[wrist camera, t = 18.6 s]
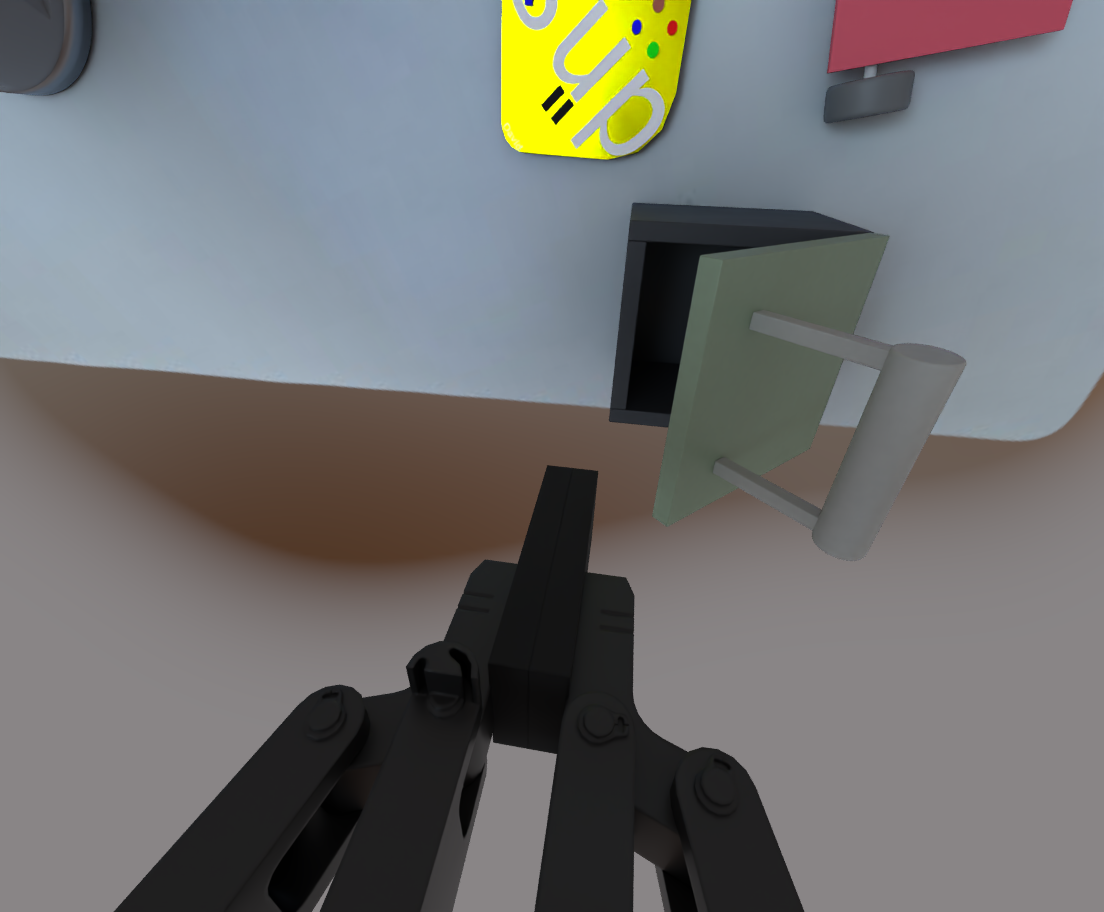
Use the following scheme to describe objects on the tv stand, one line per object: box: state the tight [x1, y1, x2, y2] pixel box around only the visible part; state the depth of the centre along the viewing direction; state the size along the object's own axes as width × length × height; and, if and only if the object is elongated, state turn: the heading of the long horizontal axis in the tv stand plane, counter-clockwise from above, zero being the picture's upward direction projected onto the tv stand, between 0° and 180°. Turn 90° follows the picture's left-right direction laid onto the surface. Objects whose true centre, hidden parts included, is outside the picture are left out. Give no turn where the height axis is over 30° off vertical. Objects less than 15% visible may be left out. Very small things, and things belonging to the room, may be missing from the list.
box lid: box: [652, 233, 966, 561], centre depth 21 cm, size 13×12×8 cm
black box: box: [609, 203, 874, 427], centre depth 32 cm, size 12×12×10 cm
